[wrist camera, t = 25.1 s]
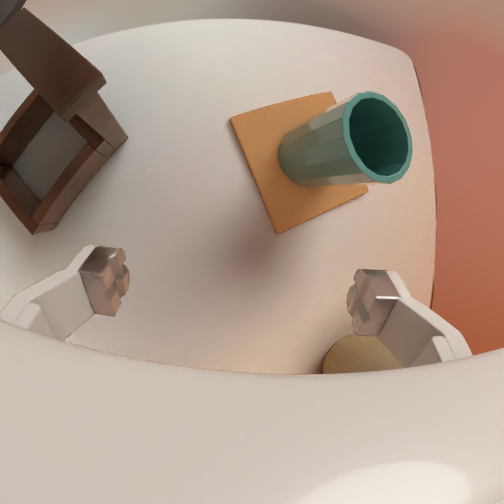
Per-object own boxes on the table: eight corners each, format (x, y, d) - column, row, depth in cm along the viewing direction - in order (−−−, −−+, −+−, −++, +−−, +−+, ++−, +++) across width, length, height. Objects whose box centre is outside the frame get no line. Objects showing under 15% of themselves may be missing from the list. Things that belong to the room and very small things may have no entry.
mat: (228, 118, 24) (229, 117, 23) (329, 92, 26) (331, 91, 25) (275, 233, 27) (277, 234, 26) (366, 191, 29) (368, 191, 29)
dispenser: (55, 232, 21) (-28, 260, 8) (1, 167, 18) (-82, 154, 5) (135, 135, 22) (102, 73, 9) (74, 76, 18) (23, 6, 6)
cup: (268, 135, 24) (327, 98, 14) (321, 119, 26) (393, 87, 15) (292, 197, 26) (364, 196, 16) (343, 175, 27) (421, 169, 17)
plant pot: (381, 285, 32) (484, 329, 17) (390, 366, 36) (462, 419, 21) (277, 343, 29) (358, 441, 14) (308, 419, 33) (366, 497, 18)
